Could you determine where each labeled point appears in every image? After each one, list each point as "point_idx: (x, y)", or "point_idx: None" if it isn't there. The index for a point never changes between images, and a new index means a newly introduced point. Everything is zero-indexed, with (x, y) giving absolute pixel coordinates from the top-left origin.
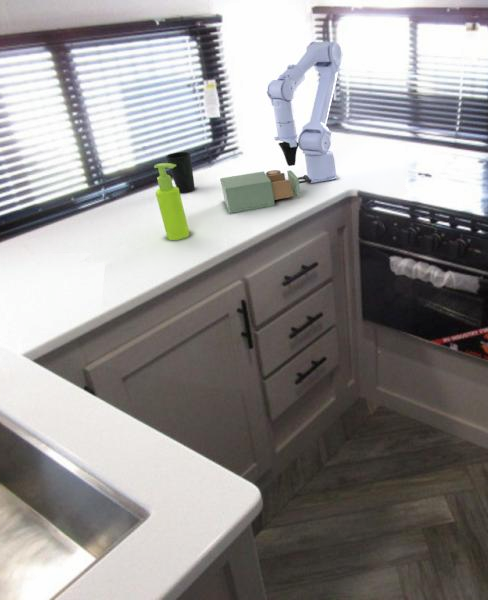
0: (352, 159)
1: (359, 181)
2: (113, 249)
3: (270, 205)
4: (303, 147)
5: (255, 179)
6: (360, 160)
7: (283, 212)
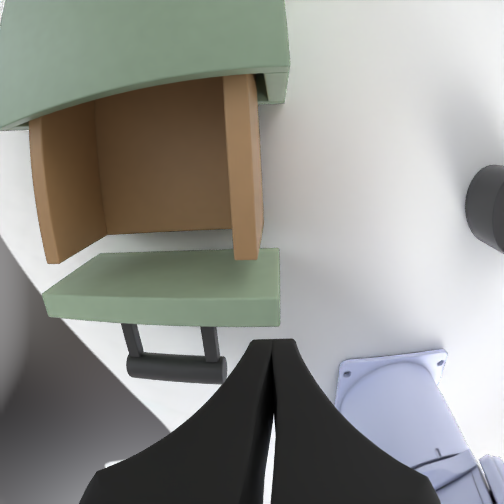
0: None
1: None
2: None
3: None
4: (462, 489)
5: (68, 8)
6: None
7: (7, 166)
